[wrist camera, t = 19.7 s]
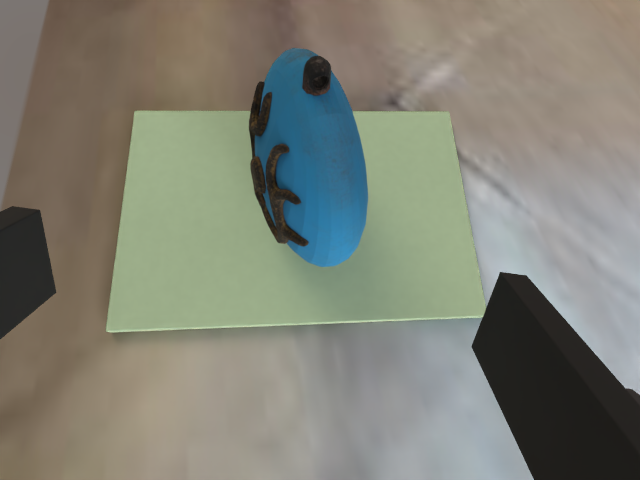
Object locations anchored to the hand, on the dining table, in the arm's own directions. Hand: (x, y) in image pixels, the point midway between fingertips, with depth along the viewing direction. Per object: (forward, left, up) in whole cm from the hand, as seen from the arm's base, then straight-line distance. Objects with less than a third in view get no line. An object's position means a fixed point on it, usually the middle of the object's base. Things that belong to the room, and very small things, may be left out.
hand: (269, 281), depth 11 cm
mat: (+1, +6, -8) cm, 10 cm away
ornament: (+1, +5, -7) cm, 9 cm away
